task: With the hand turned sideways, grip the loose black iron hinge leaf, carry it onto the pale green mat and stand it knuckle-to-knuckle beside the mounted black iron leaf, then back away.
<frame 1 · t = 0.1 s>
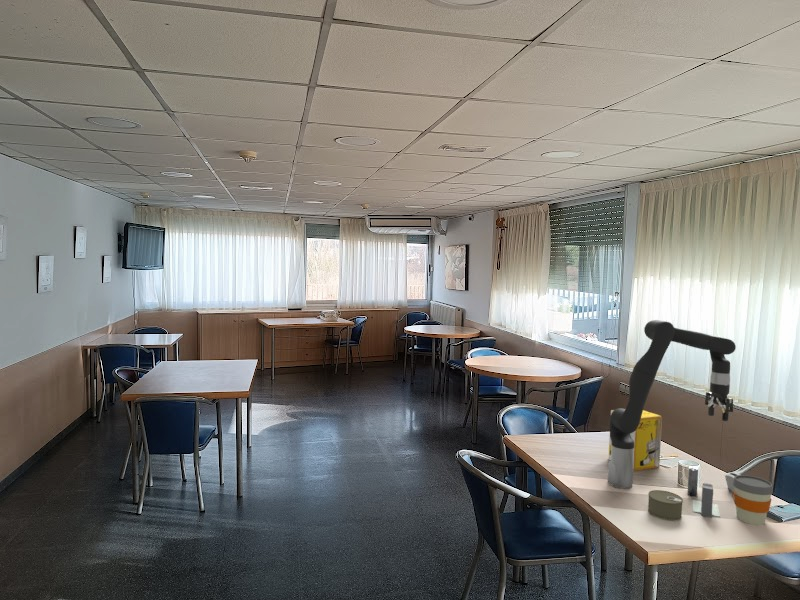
hand: (717, 418, 235), 29 cm above the table, fingers open, 8 cm apart
can: (664, 514, 204), on the table
packaging box: (633, 463, 259), on the table
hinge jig: (705, 506, 211), on the table
hinge: (742, 497, 222), on the table
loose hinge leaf: (692, 493, 223), on the table
reusable coffee cup: (750, 520, 200), on the table
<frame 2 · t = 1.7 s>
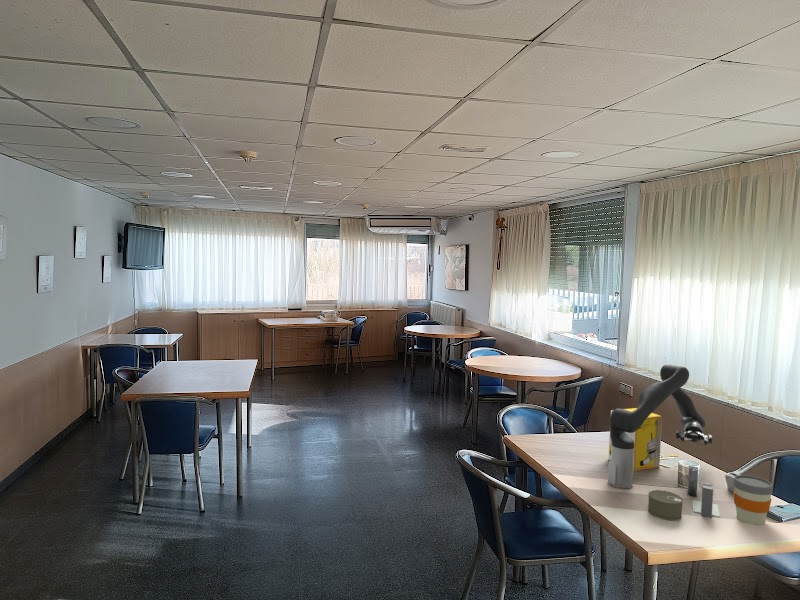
hand: (694, 440, 232), 20 cm above the table, fingers open, 8 cm apart
nothing on the table moved.
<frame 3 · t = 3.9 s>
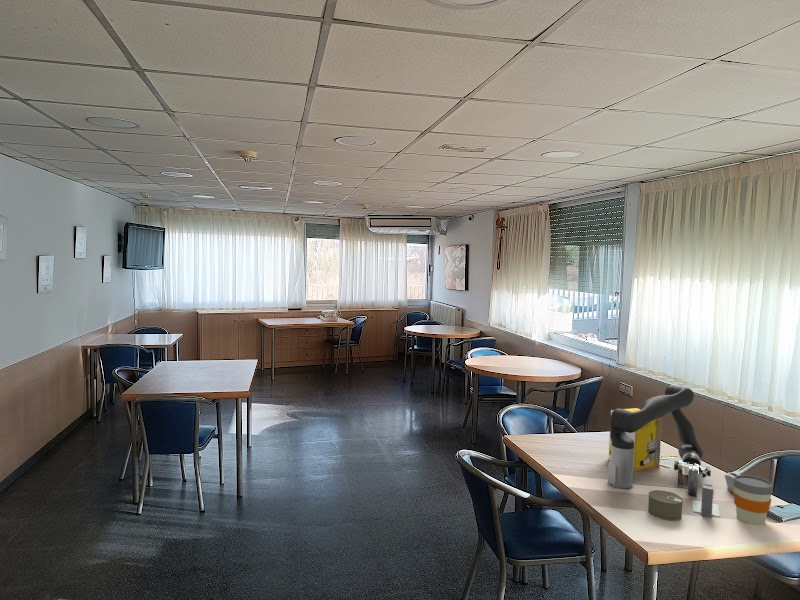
hand: (692, 473, 229), 6 cm above the table, fingers open, 8 cm apart
nothing on the table moved.
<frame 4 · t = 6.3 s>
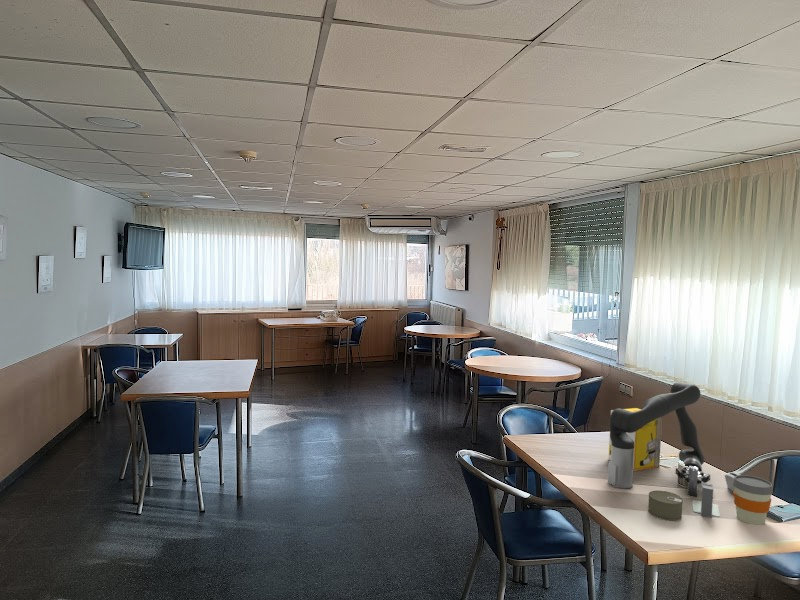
hand: (693, 481, 221), 6 cm above the table, fingers closed on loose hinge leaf, 3 cm apart
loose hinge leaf: (692, 493, 223), on the table, touching gripper
everything else where it was.
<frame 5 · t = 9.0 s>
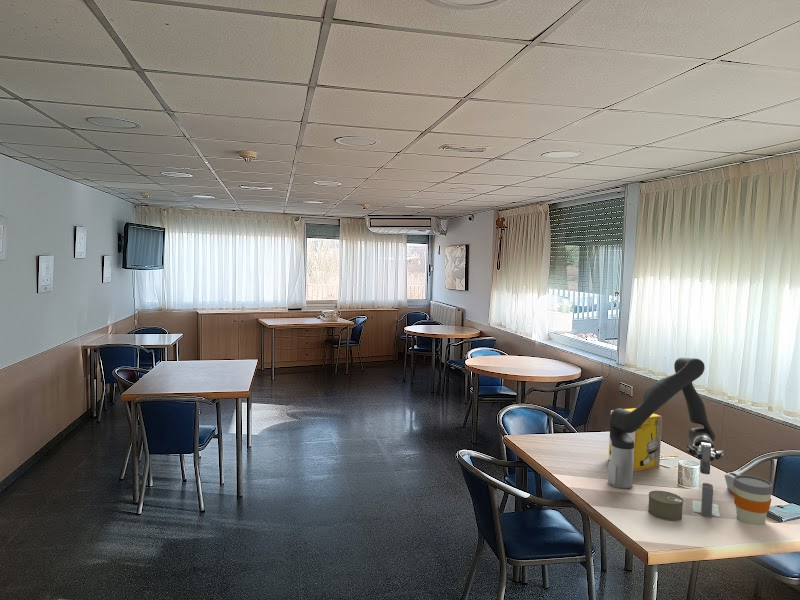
hand: (706, 457, 210), 20 cm above the table, fingers closed on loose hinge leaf, 3 cm apart
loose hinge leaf: (704, 470, 213), point 13 cm above the table, touching gripper
everything else where it was.
when the fingers open (7 cm above the table, at t = 11.9 s): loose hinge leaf stays where it is, resting on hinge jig.
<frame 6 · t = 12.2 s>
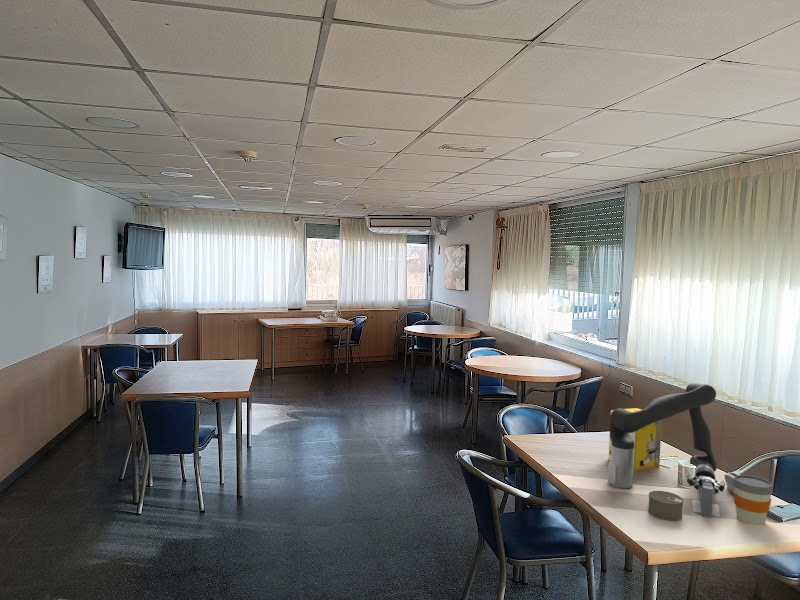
hand: (706, 489, 209), 8 cm above the table, fingers open, 5 cm apart
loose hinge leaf: (705, 505, 211), resting on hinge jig
everything else where it was.
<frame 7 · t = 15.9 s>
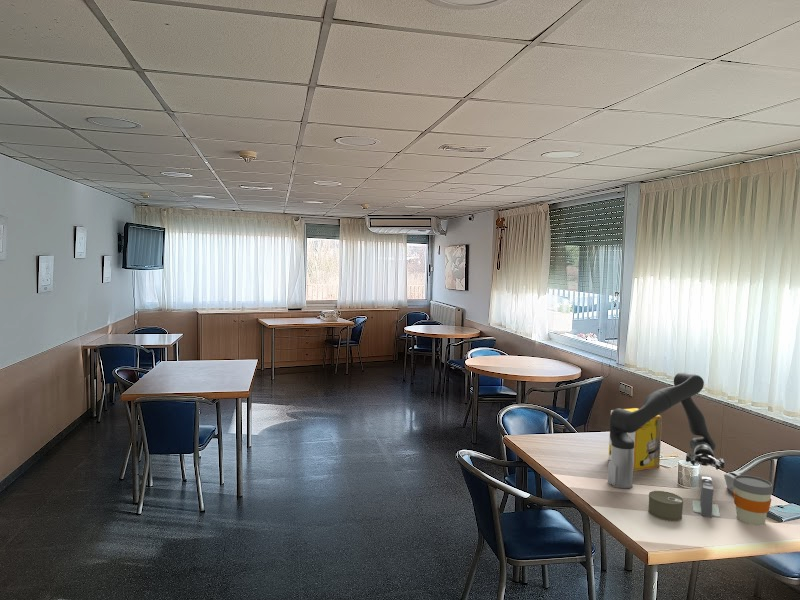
hand: (705, 465, 220), 13 cm above the table, fingers open, 8 cm apart
nothing on the table moved.
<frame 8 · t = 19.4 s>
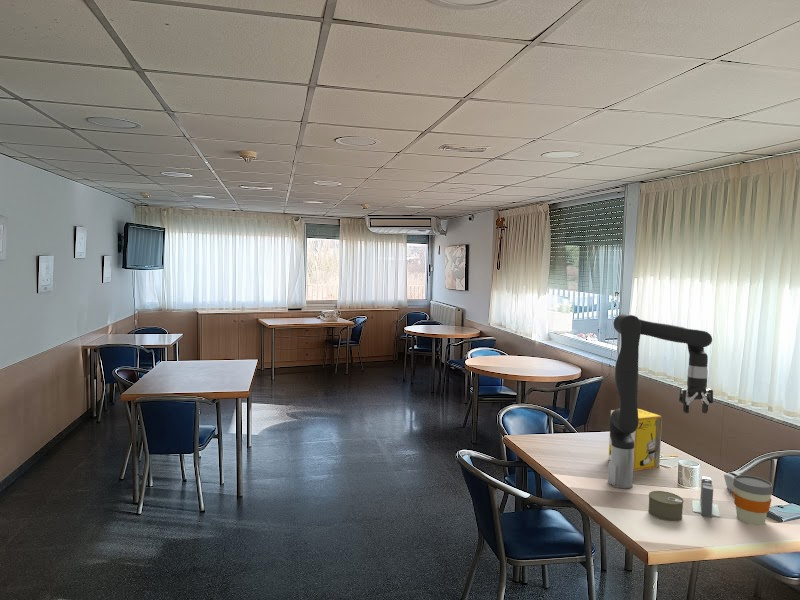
hand: (695, 412, 228), 33 cm above the table, fingers open, 8 cm apart
nothing on the table moved.
at the end: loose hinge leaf 0.1 cm off-centre on the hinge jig, point 0.3 cm above the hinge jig's base; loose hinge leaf tilted 0°; the gripper is holding nothing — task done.
